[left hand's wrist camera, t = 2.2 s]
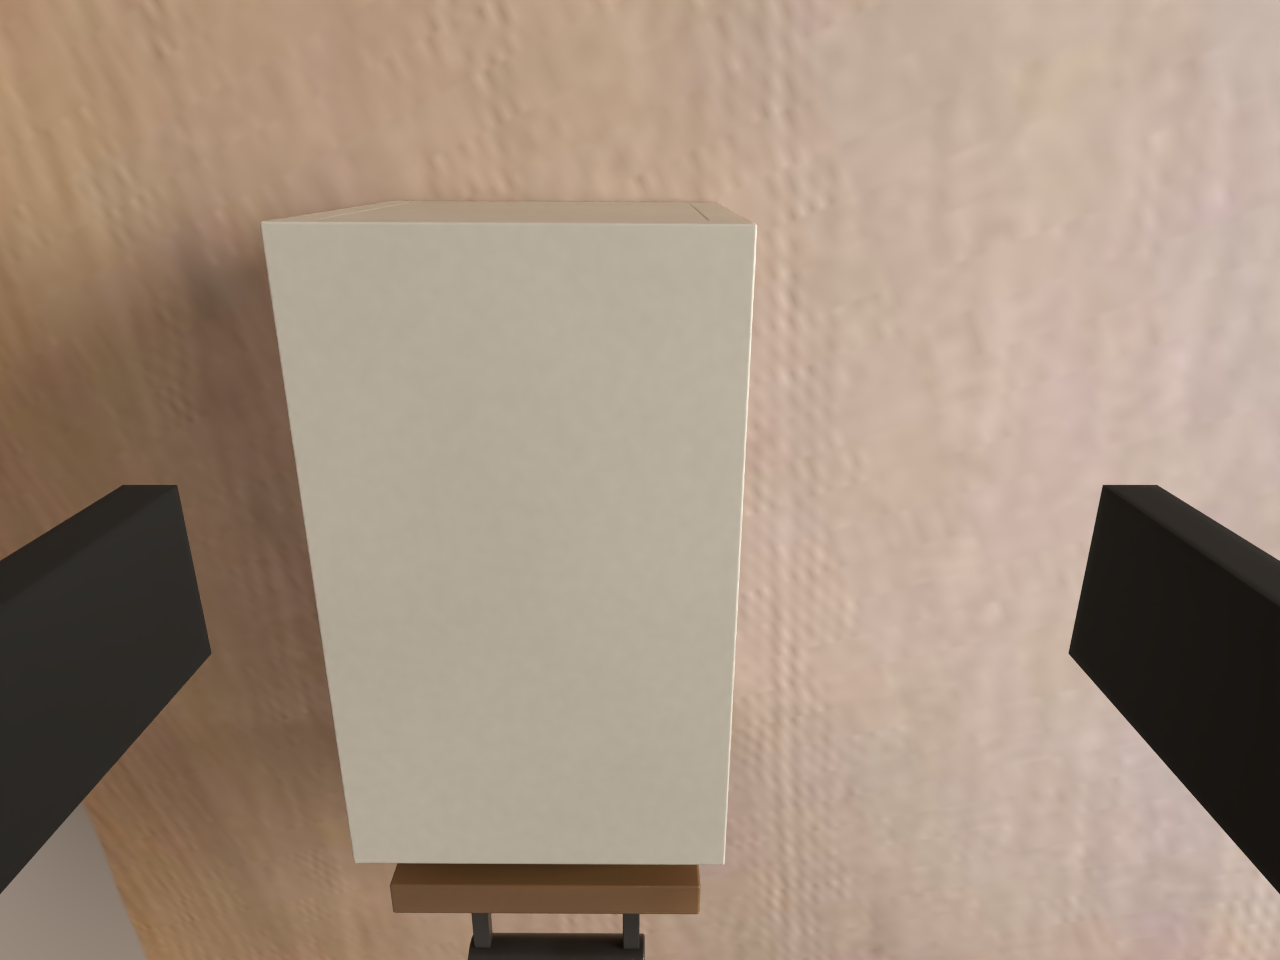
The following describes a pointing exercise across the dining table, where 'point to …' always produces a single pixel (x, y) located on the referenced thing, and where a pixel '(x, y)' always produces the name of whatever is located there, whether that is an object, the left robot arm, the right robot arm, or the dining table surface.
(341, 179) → the dining table surface
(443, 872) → the drawer
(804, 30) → the dining table surface
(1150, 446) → the dining table surface
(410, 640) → the cabinet
